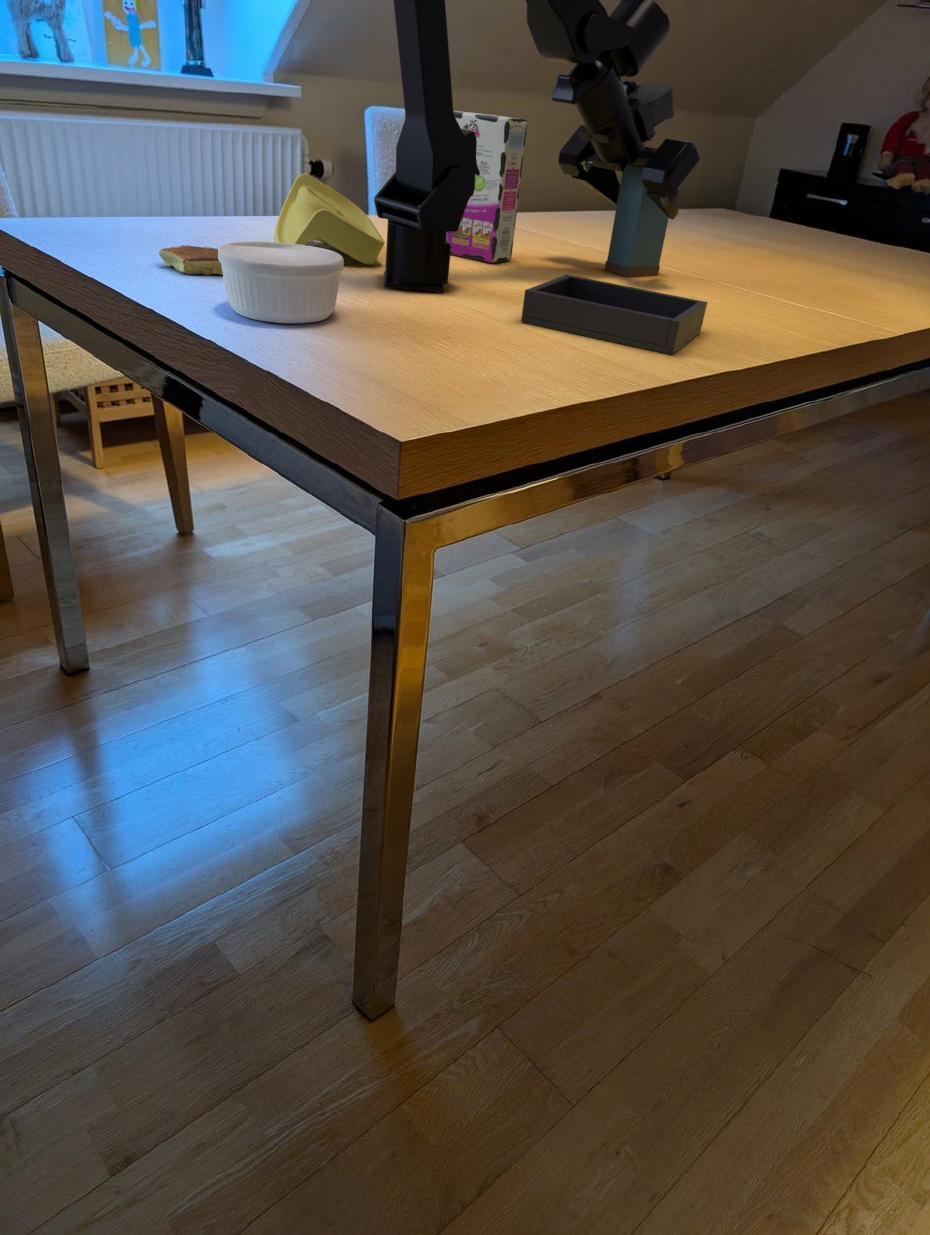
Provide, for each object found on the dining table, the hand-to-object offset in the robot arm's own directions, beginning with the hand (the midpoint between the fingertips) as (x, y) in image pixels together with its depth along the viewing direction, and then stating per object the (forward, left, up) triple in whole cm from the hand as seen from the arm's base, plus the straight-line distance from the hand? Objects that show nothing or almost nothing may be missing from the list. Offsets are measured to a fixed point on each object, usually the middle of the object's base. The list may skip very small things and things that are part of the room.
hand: (647, 210), depth 115 cm
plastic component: (-41, -4, -8) cm, 42 cm away
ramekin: (-43, -37, -8) cm, 58 cm away
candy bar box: (-23, +2, -8) cm, 24 cm away
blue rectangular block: (-1, 0, -8) cm, 8 cm away
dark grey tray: (-11, -32, -8) cm, 35 cm away
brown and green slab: (-52, -20, -8) cm, 56 cm away
